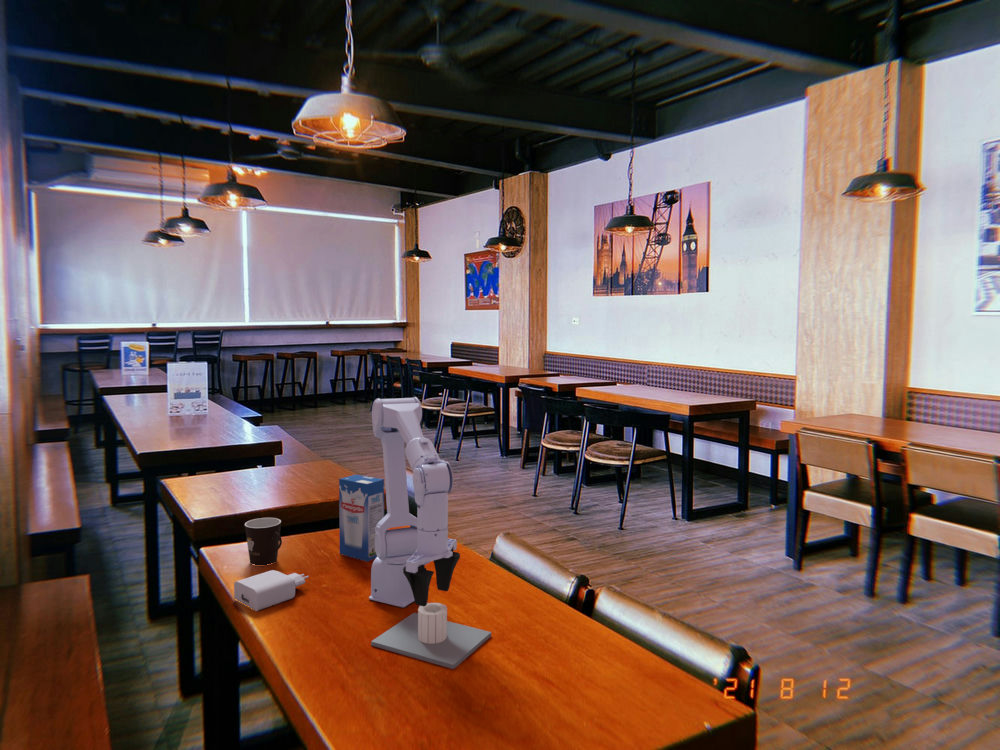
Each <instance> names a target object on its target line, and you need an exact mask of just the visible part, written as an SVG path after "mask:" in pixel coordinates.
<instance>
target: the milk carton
mask: <svg viewBox="0 0 1000 750" xmlns="http://www.w3.org/2000/svg"><path fill="white" fill-rule="evenodd" d="M338 486H339V487H338V489H339V491H338V493H339V494H338V496H339V497H338V498H339V499H338V501H339V502H338V507H339V513H338V514H339V519H338V520H339V526H338V527H339V555H341V554H343V555H342V556H345V555H346V556H345V557H348V556H349V558H352V557H353V559H356V558H357V559H356V560H359V559H360V561H363V560H364V562H370V561H372V559H373V560H375V559H376V558H377V555H376V551H375V527H376V525H377V523H378V522H379V521H380V520H381V519H382V518H383V517H384V516H385V478H384V479H383V478H378V477H371V476H367V475H362V474H352V475H349V476H344V477H342V478H341V477H340V478H339V479H338ZM374 558H375V559H374Z"/></svg>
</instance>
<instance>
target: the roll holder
mask: <svg viewBox="0 0 1000 750" xmlns="http://www.w3.org/2000/svg"><path fill="white" fill-rule="evenodd" d="M491 637H492V631H487V630H484V629H481V628H477V627H472V626H468V625H465V624H461V623H457V622H452V621H448V620H447V638H446V639H445V640H444V641H442V642H439V643H435V644H428V643H424V642H421V641H420V640H419V639H418V612H413V613H412V614H410V615H409V616H407V617H405V618H404V619H402V620H401V621H399V622H398V623H397V624H395V625H394V626H392V627H390V628H389V629H387V630H386V631H384V632H383V633H381V634H380V635H378V636H377V637H376V638H374V639H372V640H371V642H370V644H371V645H370V646H372V647H376V648H379V649H382V650H386V651H389V652H393V653H395V654H400V655H403V656H406V657H411V658H413V659H417V660H421V661H423V662H424V661H425V662H426V663H427V662H428V663H430V664H434V665H436V666H437V665H438V666H441V667H444V668H448V669H451V670H455V669H456V668H457V667H458V666H460V665H461V663H462V662H464V661H465V660H466V659H467V658H468V657H469V656H471V655H472V654H473V653H474V652H475V651H476V650H477V649H479V647H481V646H482V645H483V644H484V643H485V642H486V641H487V640H489V639H490V638H491Z"/></svg>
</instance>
